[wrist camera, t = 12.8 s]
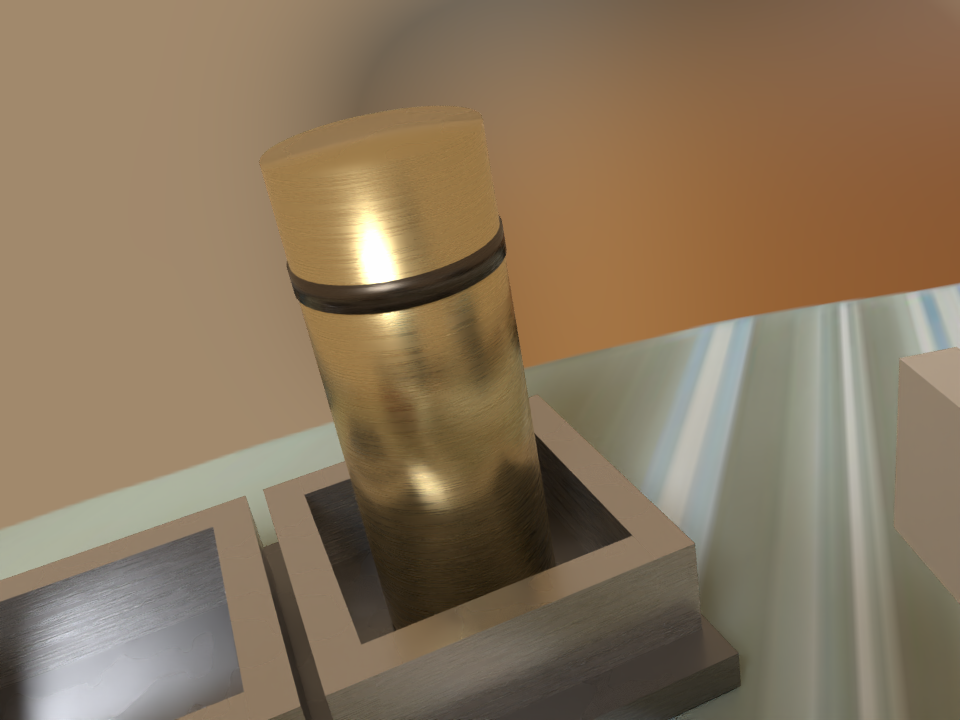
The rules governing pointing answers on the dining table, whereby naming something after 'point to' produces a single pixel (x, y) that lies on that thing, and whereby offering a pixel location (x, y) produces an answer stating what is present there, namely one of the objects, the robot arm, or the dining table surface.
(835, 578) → the dining table surface
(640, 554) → the divided compartment tray
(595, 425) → the dining table surface
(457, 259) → the tube
